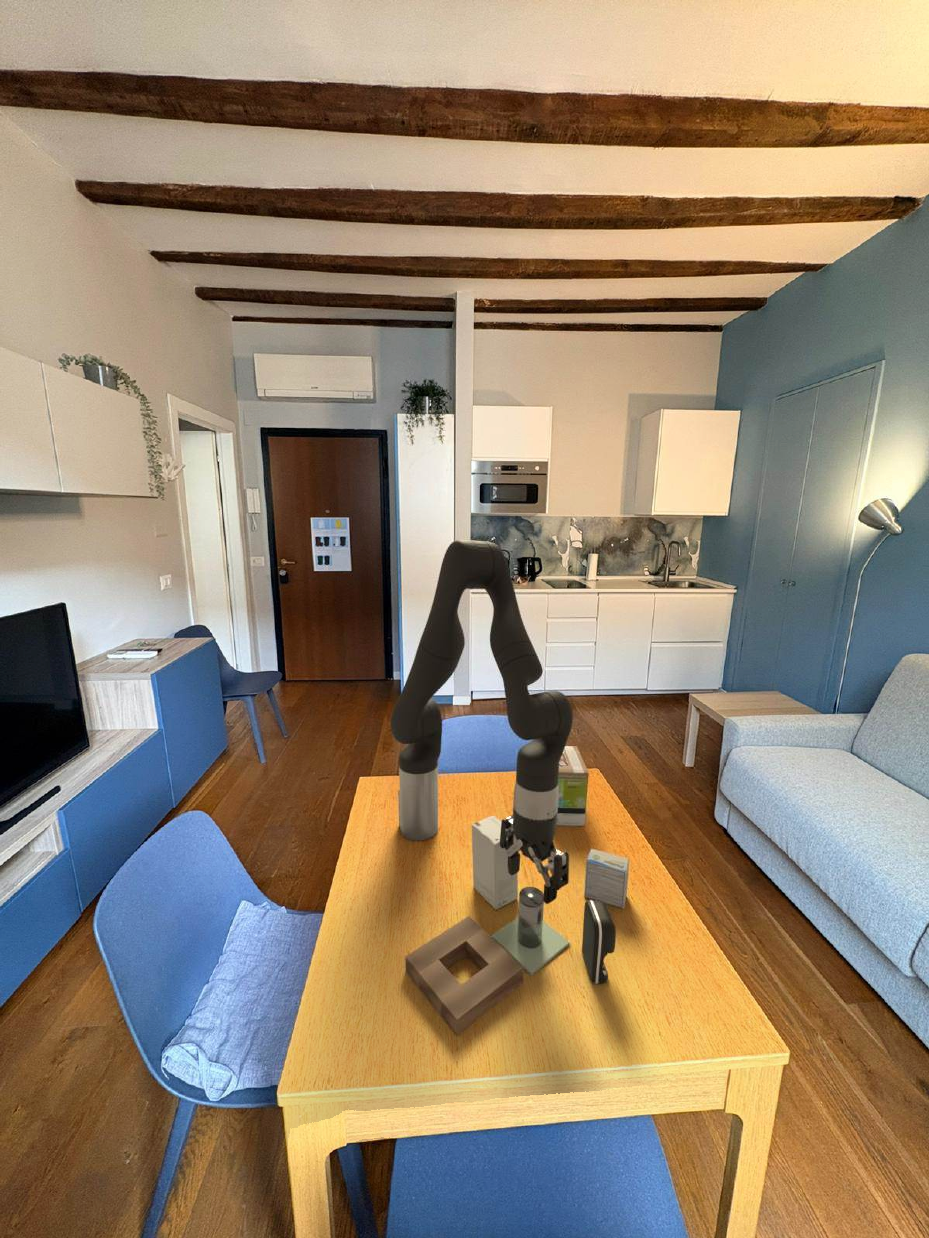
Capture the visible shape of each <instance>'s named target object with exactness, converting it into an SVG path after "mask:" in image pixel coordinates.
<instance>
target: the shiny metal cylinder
mask: <svg viewBox="0 0 929 1238" xmlns="http://www.w3.org/2000/svg"><path fill="white" fill-rule="evenodd" d="M543 896H544V892H543V891H542V890H541V889H540V888H538V887H534V886H525V887H523V888H521V889H520V890H519V892H518V916H517V917H518V936H517V938H518V941H519V943H520V944H521V945H522V946H524V947H526V948H536V947H538V946H539V945H540V944H541V942H542V926H543V921H544V905H545V902H543Z"/></svg>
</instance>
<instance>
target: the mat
mask: <svg viewBox="0 0 929 1238" xmlns="http://www.w3.org/2000/svg"><path fill="white" fill-rule="evenodd" d="M490 936H491V937H492V938H493V939H494V940H495V941H496V942H497V943H498V944H499V945H500V946H501V947H502V948H504V949H505V950H506V951H507V952H508V953H509V954H510V955H511V956H512V957H513V958H514V959H515V960H516V961H517V962H518V963H519V964H520V965H521V966H522V967H523V970H524V971H525V972H527V974H529V975H530V976H533V975H534V974H535V973H536V972H538V971H539V970H540V969H541V968H543V967H544V966H545V965H546V964H547V963H549V962H550V961H551V960H552V959H554V958H555V957H556V956H558V955H559V954H560V953H561V952H562V951H564V950H565V949H566V948H567V947H568V946H570V943H571V942H570V941H569V940H568V939H566V938H565V937H564V936H563V935H561V934H560V933H559V932H558V931H557V930H555V929H554V928H553V927H551V926H550V925H549V924H548V923H546V922H545V921H544V920H543V926H542V942H541V944H540V945H539V946H538V947H536V948H526V947H524V946H522V945H521V944H520V943H519V941H518V938H517V936H518V916H517V917H516V918H514V919H513V920H512V921H510V922H509V923H506V925H504V926H503V927H501V928H500V929H498V930H497V931H496V932H494V933H493V934H490Z"/></svg>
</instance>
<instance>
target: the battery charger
mask: <svg viewBox="0 0 929 1238" xmlns="http://www.w3.org/2000/svg"><path fill="white" fill-rule="evenodd" d="M582 924H583V927H582V943H581V954H582V956H583V960H584V963H585V967H586V970H587V973H588V976H589V979H590V983H592V984H596V985H597V984H602V983H606V982H608V980H609V973H608V970H607V967H606V964H605V962H604V960H605V958H606V957H607V956H608V954H613V953H614V952H615V949H616V937H617V933H616V931H617V929H616V925H615V922H614V919H613V917H612V914H611V912H610V910H609V907H608V904H606V903H605V902H603V901H596V900H593V899H589V900H586V901H585V903H584V911H583V923H582Z"/></svg>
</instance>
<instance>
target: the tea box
mask: <svg viewBox="0 0 929 1238" xmlns="http://www.w3.org/2000/svg"><path fill="white" fill-rule="evenodd" d="M588 787H589V770H588V768H587V766H586V764H585V761H584V760H583V757H582V755H581V753H580V750H579V748H578V746H575V745H574V746H573V745H565V748H564V751H563V754H562V756H561V758H560V761H559V774H558V812H557V826H565V827H566V826H569V827H570V826H571V827H573V826H575V827H578V826H580V827H584V826H585V824H586V812H587V811H586V810H587V799H588Z"/></svg>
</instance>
